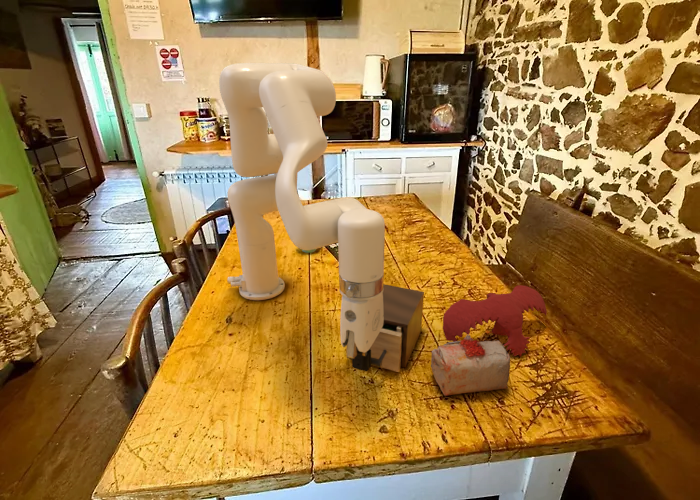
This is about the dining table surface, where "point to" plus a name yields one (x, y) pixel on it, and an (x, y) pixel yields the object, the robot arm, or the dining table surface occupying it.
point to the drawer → (387, 348)
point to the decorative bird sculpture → (495, 316)
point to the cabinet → (404, 315)
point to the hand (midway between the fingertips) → (361, 366)
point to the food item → (470, 366)
